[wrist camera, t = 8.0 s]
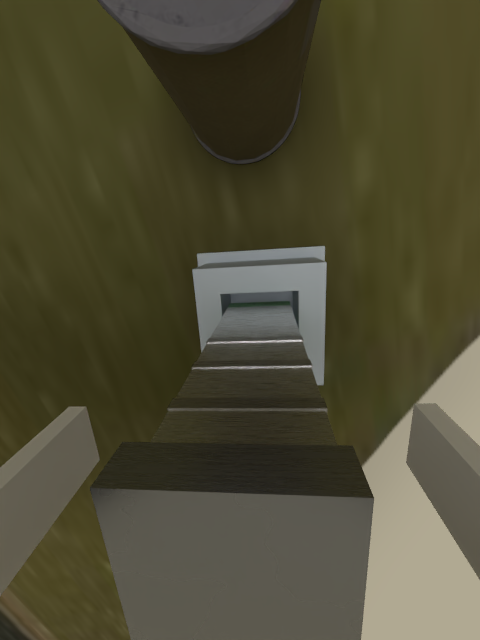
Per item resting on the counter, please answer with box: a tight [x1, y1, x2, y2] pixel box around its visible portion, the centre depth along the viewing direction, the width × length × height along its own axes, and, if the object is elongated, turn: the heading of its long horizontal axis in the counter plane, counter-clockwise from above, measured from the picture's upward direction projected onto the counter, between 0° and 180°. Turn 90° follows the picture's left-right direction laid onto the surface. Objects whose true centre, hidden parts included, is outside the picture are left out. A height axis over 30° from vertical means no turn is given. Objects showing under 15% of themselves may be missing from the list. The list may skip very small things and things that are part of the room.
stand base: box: [192, 246, 327, 385], centre depth 27 cm, size 13×13×9 cm
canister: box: [98, 0, 321, 164], centre depth 16 cm, size 11×10×20 cm
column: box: [90, 301, 374, 640], centre depth 15 cm, size 5×7×19 cm
